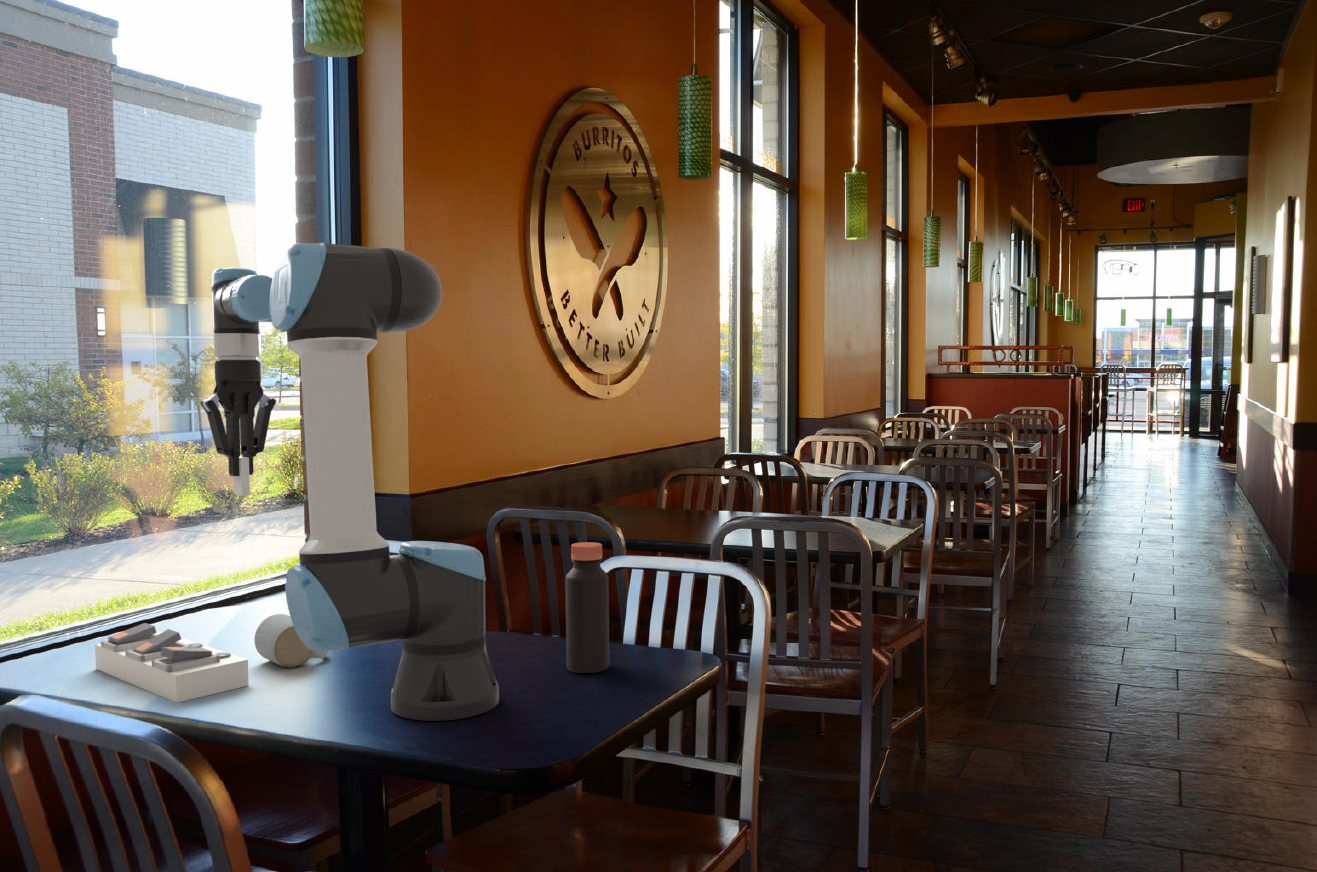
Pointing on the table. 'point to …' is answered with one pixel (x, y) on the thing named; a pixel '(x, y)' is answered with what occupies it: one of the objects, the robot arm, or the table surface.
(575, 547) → the bottle
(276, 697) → the table surface
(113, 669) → the white rocker switch box
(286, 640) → the ceramic mug
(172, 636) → the rocker middle
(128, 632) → the rocker
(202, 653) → the rocker
